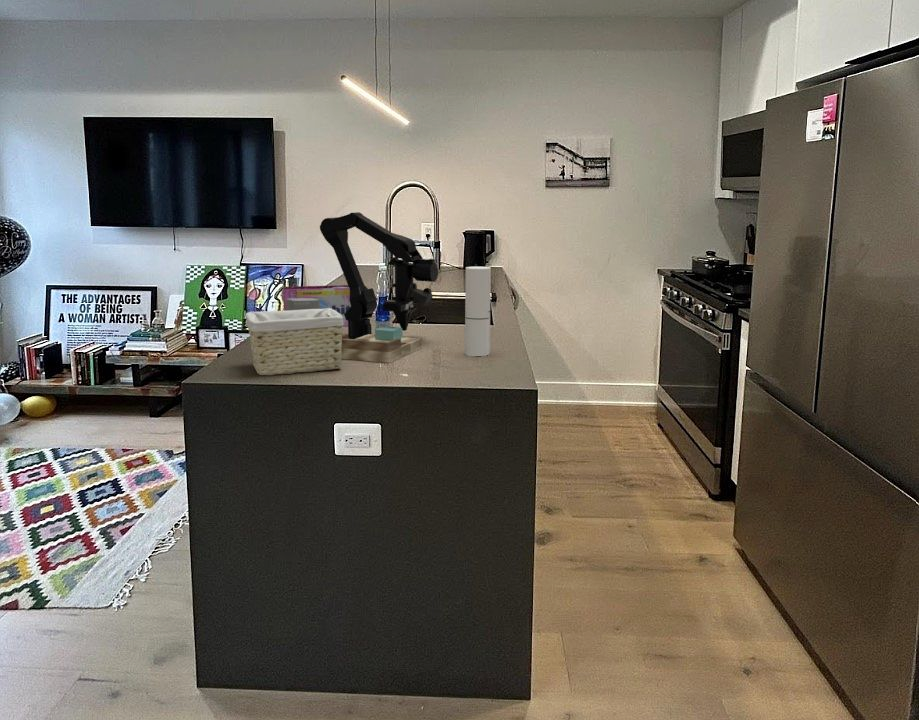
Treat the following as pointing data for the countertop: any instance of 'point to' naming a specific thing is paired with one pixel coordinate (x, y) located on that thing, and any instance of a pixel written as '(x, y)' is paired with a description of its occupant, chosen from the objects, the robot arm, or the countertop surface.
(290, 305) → the skincare box
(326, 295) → the gum box
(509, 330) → the countertop surface
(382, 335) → the block
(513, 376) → the countertop surface
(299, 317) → the storage basket
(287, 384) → the countertop surface
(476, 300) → the cylindrical container
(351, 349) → the wooden tray
